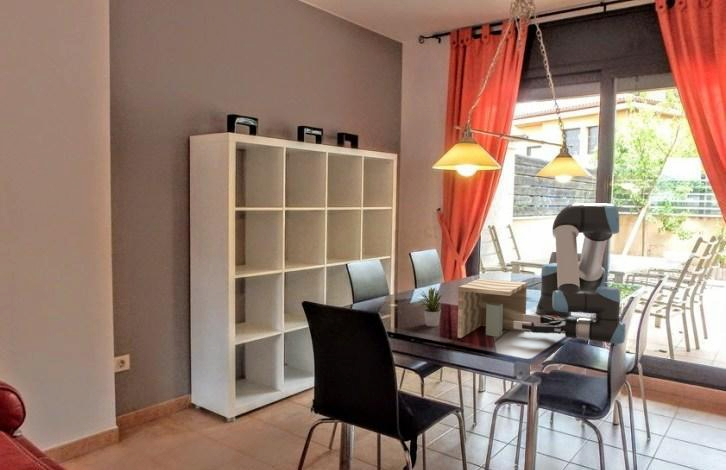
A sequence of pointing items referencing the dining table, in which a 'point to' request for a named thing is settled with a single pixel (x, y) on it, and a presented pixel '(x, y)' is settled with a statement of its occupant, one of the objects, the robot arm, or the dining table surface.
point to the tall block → (494, 319)
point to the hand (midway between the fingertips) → (518, 320)
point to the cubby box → (487, 291)
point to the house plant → (431, 308)
